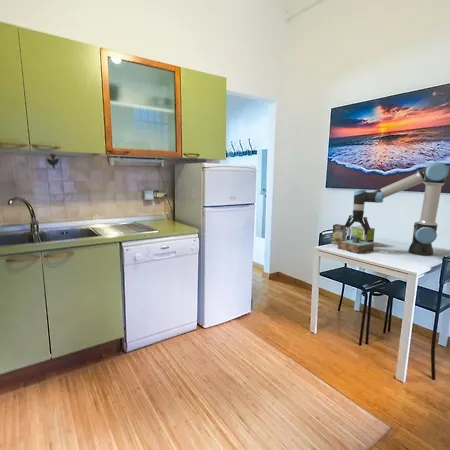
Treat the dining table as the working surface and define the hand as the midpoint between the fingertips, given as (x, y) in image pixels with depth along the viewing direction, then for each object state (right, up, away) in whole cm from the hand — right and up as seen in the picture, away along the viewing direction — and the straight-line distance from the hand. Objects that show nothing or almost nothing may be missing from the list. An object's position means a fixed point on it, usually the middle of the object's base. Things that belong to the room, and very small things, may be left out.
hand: (356, 237), depth 216 cm
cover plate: (0, -5, +1) cm, 5 cm away
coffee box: (-5, -7, +22) cm, 23 cm away
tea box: (+13, -7, +19) cm, 25 cm away
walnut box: (0, -10, +2) cm, 10 cm away
